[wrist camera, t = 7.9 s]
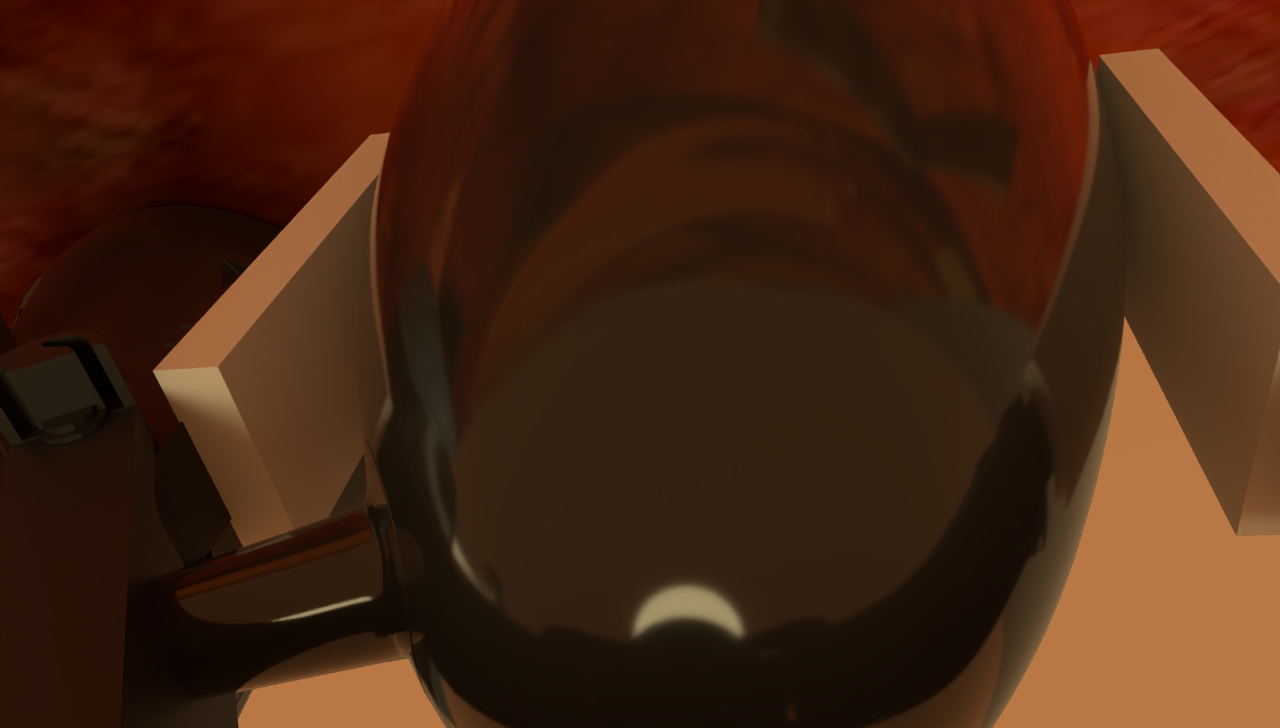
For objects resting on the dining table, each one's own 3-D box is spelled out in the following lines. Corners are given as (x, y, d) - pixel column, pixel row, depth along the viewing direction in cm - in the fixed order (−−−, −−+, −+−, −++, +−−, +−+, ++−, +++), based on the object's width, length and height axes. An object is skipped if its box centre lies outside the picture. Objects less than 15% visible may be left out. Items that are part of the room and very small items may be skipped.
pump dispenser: (430, -189, 17) (-497, 160, 5) (1065, -262, 16) (2131, -13, 3) (530, 314, 23) (219, 1071, 11) (1003, 301, 21) (1301, 1185, 9)
